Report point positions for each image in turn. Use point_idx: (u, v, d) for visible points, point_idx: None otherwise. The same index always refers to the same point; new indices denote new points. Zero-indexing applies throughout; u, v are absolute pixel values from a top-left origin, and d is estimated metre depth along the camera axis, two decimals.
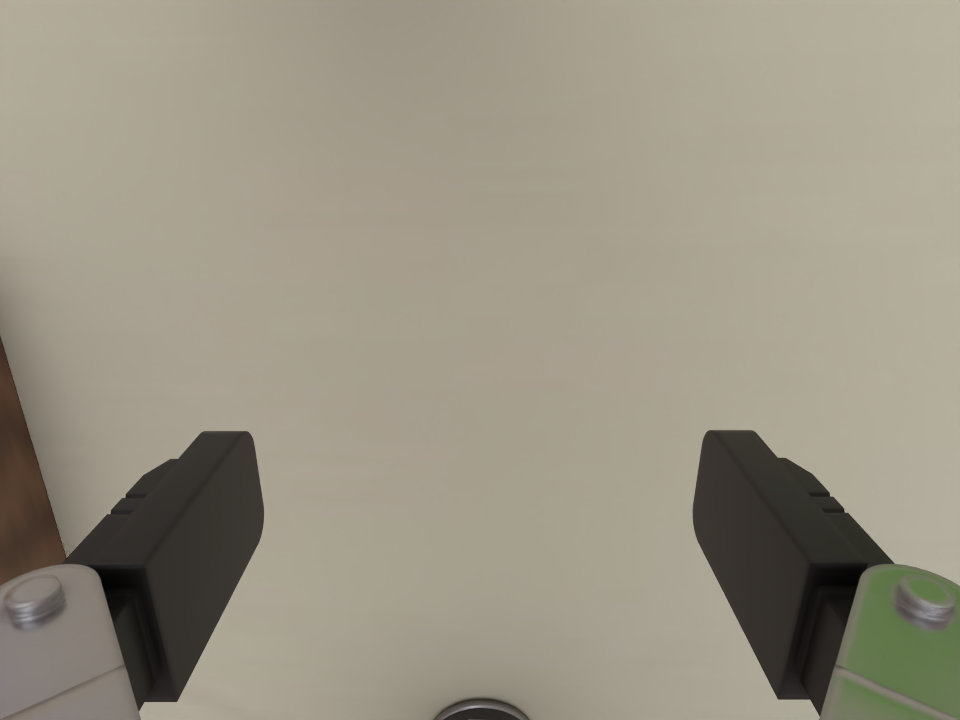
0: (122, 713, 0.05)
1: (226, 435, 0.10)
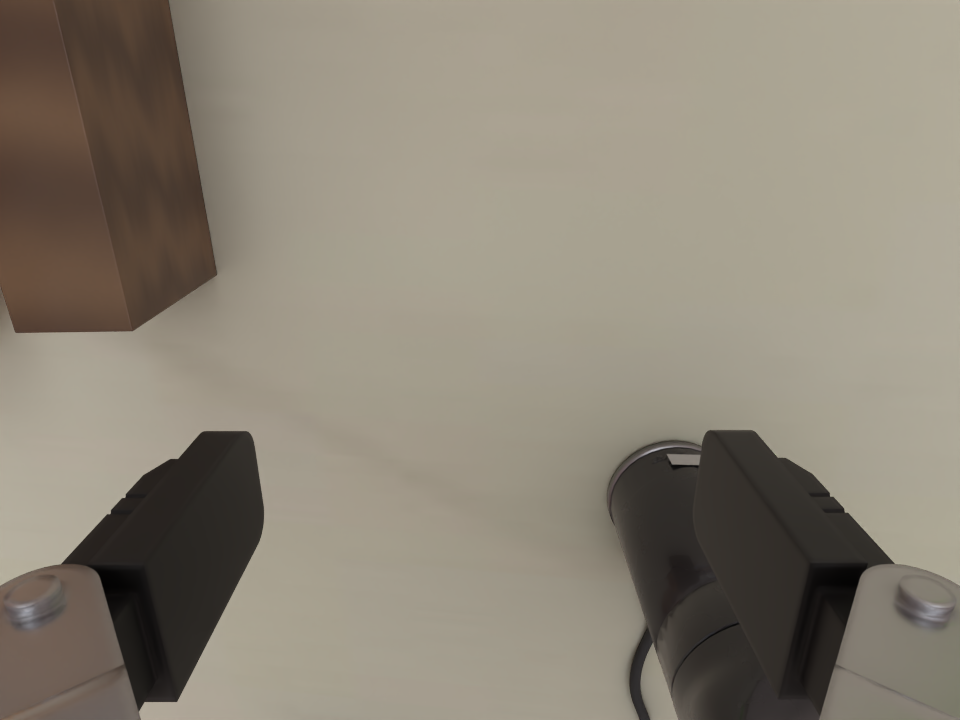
0: (122, 713, 0.05)
1: (226, 435, 0.10)
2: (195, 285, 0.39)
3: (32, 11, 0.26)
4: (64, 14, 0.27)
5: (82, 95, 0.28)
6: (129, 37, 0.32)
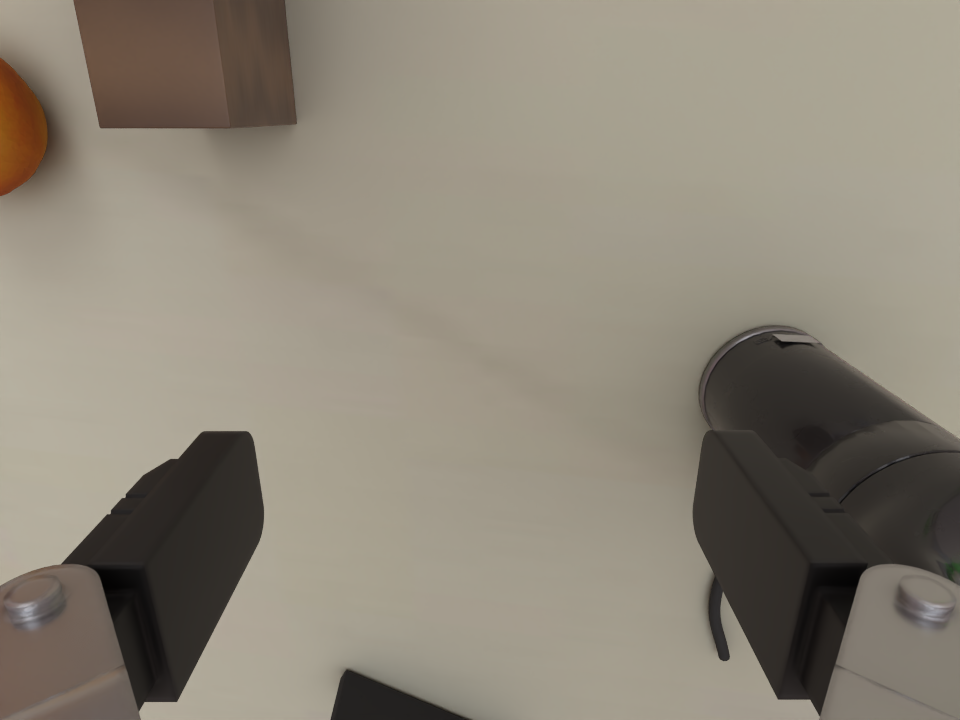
0: (122, 713, 0.05)
1: (226, 434, 0.10)
2: (280, 120, 0.36)
3: None
4: None
5: None
6: None
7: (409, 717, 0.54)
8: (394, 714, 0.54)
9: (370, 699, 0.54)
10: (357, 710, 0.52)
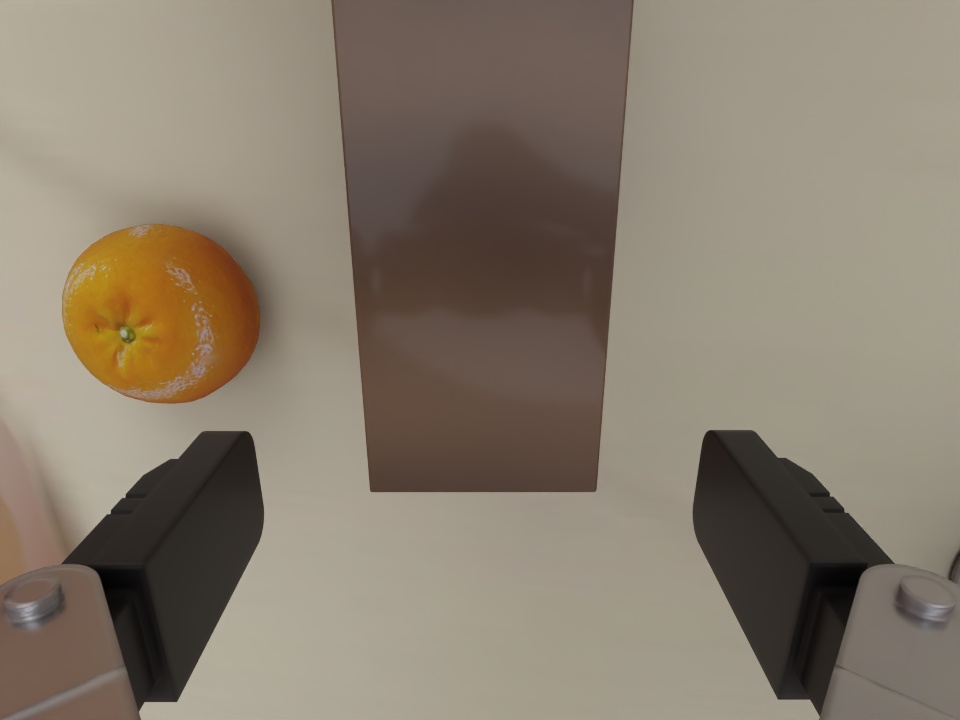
0: (122, 713, 0.05)
1: (225, 434, 0.10)
2: None
3: None
4: None
5: (627, 24, 0.13)
6: None
7: None
8: None
9: None
10: None
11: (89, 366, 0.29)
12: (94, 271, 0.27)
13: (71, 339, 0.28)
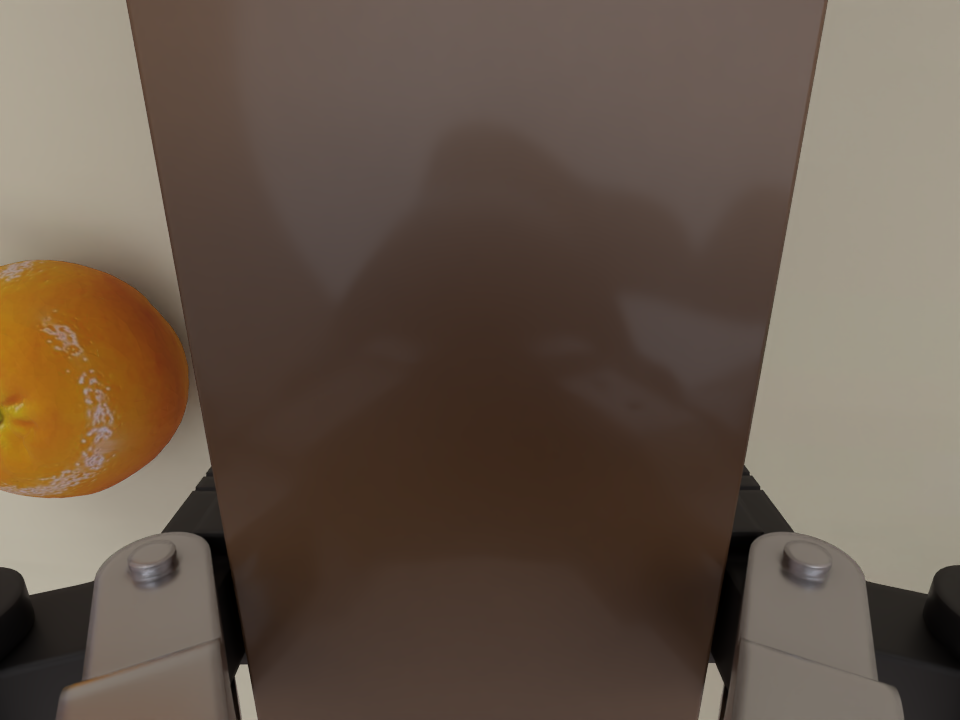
0: (210, 687, 0.05)
1: None
2: None
3: None
4: None
5: None
6: None
7: None
8: None
9: None
10: None
11: None
12: None
13: None
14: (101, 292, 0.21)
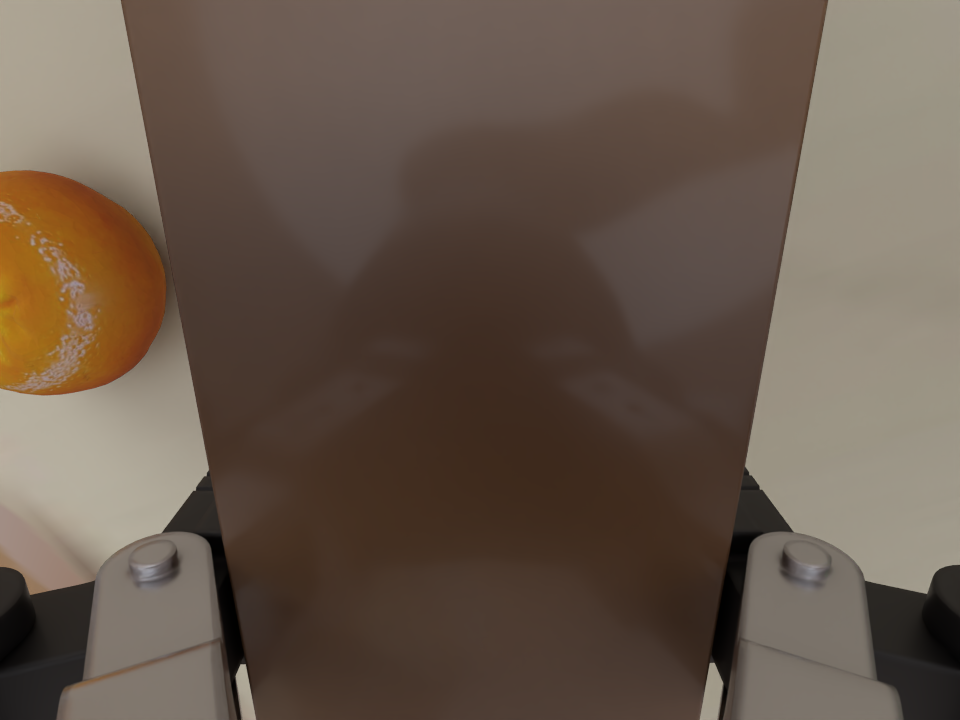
0: (210, 686, 0.05)
1: None
2: None
3: None
4: None
5: None
6: None
7: None
8: None
9: None
10: None
11: None
12: None
13: None
14: (28, 175, 0.22)
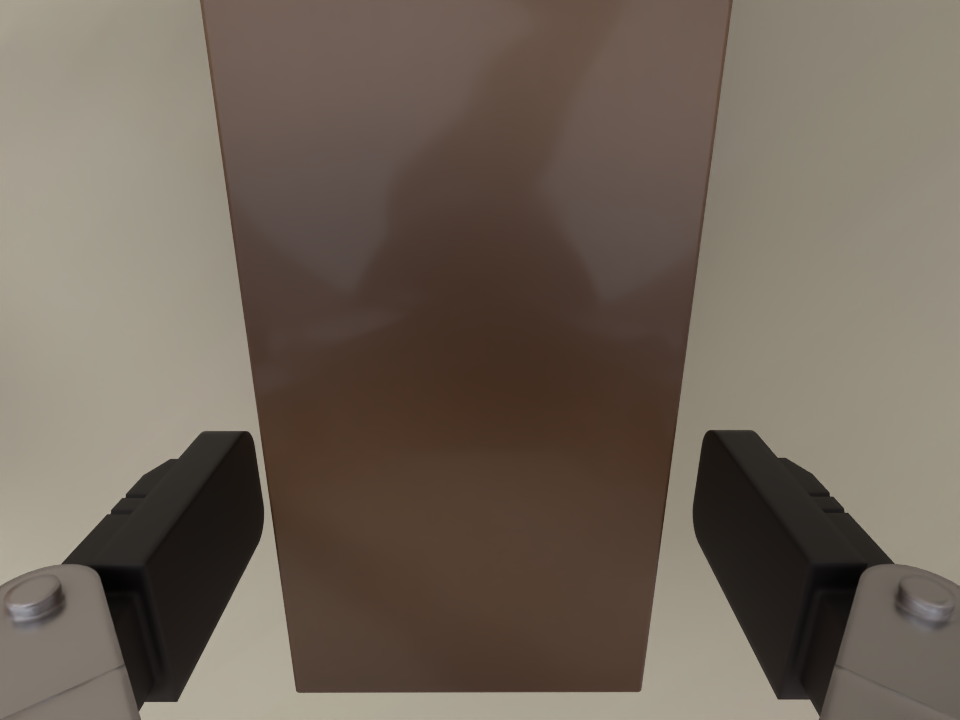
0: (123, 713, 0.05)
1: (226, 435, 0.10)
2: None
3: None
4: None
5: None
6: None
7: None
8: None
9: None
10: None
11: None
12: None
13: None
14: None
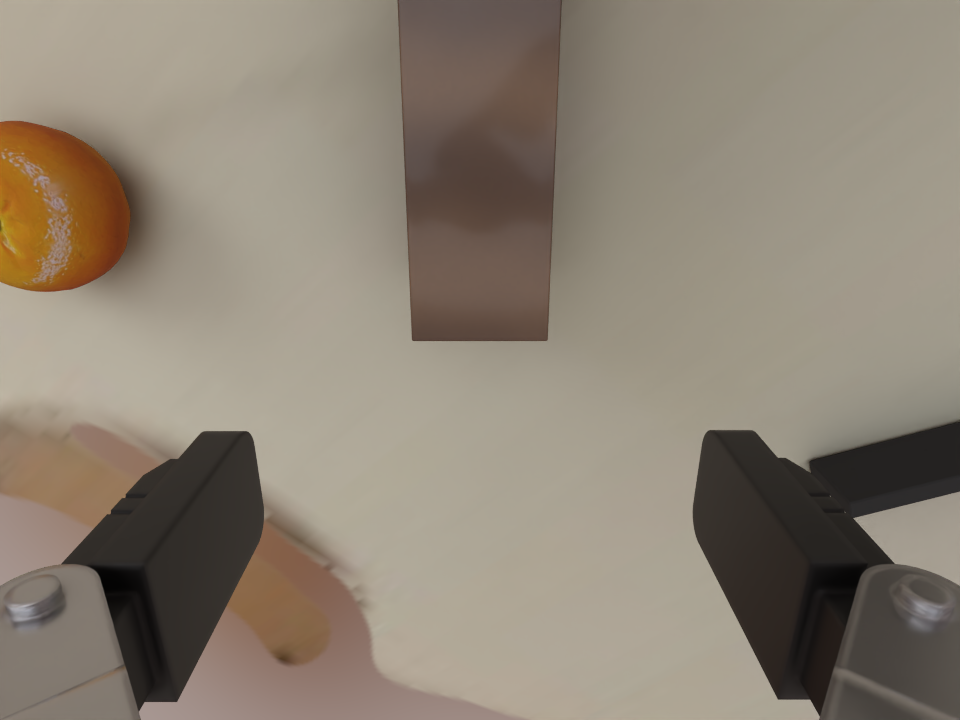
0: (123, 711, 0.05)
1: (226, 435, 0.10)
2: None
3: None
4: None
5: (557, 67, 0.24)
6: None
7: (929, 450, 0.40)
8: (908, 458, 0.40)
9: (865, 464, 0.40)
10: (863, 481, 0.39)
11: (8, 276, 0.32)
12: None
13: None
14: None
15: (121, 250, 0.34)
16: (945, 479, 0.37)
